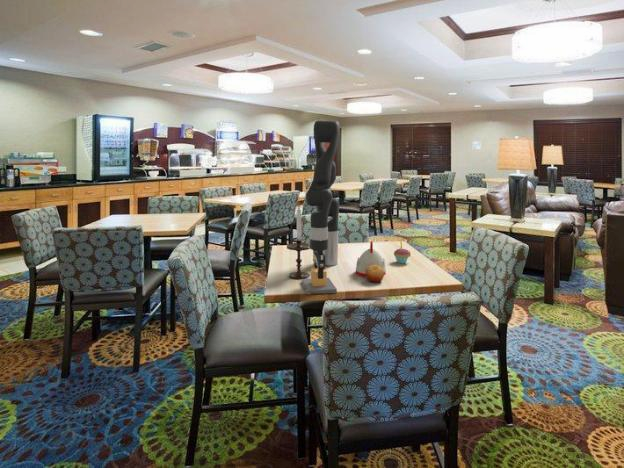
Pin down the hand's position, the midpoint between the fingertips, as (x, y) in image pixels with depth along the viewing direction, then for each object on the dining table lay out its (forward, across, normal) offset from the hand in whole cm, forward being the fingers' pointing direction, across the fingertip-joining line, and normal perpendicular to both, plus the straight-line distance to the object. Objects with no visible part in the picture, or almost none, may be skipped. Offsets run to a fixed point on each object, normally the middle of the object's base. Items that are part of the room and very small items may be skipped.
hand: (318, 275), depth 180 cm
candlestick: (+5, -17, -6) cm, 19 cm away
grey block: (+5, 0, 0) cm, 5 cm away
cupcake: (+5, -34, +50) cm, 61 cm away
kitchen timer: (+5, -17, +28) cm, 33 cm away
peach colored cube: (+4, 0, 0) cm, 4 cm away
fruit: (+5, -5, +26) cm, 27 cm away
